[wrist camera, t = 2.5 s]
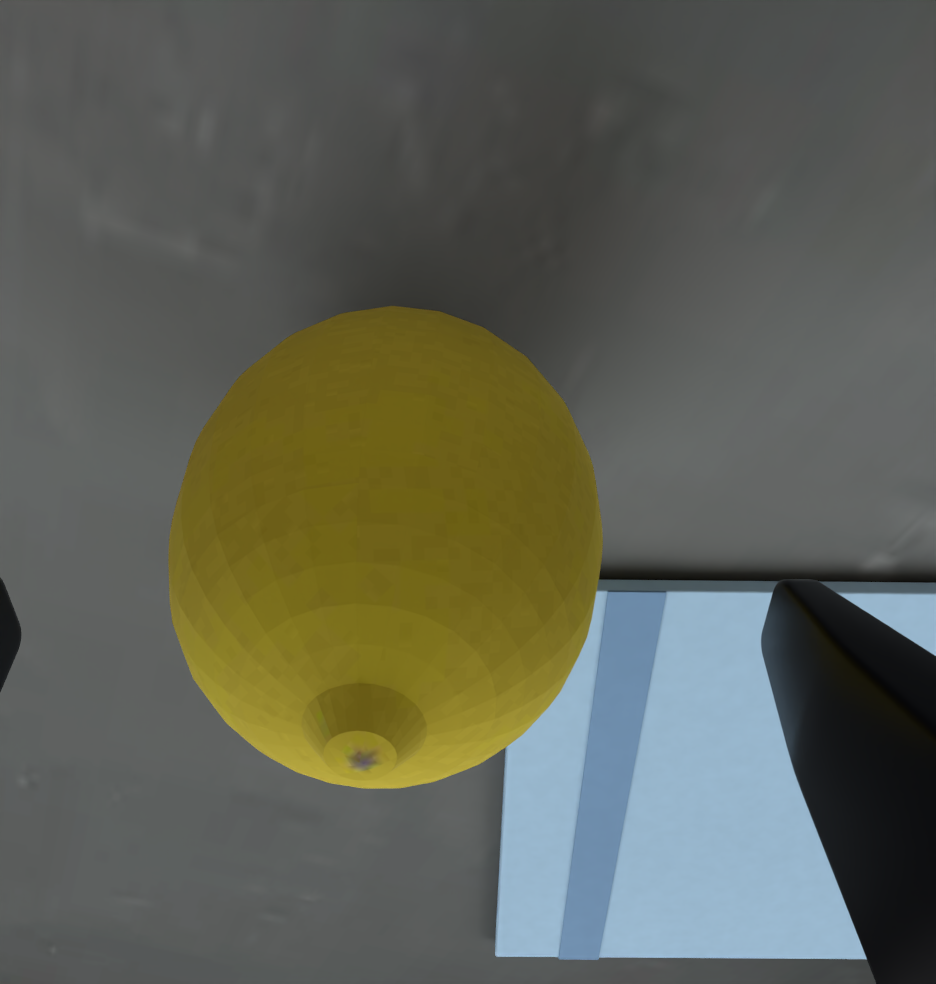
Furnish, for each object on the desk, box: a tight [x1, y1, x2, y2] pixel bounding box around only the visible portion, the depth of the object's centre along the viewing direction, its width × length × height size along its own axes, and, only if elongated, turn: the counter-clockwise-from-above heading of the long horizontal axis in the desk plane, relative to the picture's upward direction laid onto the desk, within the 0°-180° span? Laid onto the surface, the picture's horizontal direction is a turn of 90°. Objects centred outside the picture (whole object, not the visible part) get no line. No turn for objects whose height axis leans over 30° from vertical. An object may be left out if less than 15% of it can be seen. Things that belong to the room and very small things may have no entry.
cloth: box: [495, 580, 936, 960], centre depth 19 cm, size 20×14×1 cm
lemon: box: [168, 306, 603, 788], centre depth 10 cm, size 6×6×8 cm
